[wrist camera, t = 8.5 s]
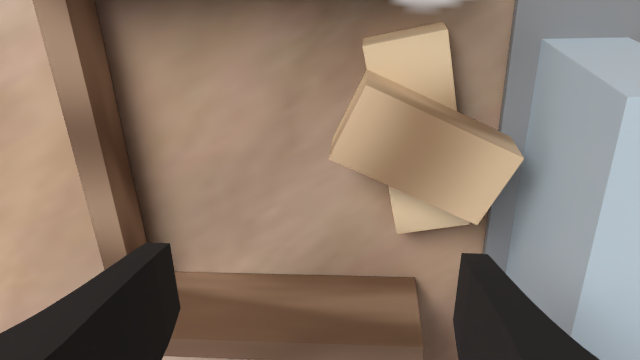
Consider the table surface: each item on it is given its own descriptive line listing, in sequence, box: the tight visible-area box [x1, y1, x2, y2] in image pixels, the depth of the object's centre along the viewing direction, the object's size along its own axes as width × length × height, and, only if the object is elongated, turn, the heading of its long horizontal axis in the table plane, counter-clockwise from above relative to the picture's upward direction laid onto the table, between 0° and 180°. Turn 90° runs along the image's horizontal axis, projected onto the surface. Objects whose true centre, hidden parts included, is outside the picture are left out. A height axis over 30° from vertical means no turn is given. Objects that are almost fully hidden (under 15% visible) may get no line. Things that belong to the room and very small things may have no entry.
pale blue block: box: [506, 37, 640, 360], centre depth 18 cm, size 11×3×7 cm, turn 2°
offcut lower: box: [363, 22, 469, 234], centre depth 21 cm, size 8×3×2 cm, turn 13°
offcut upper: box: [329, 69, 524, 225], centre depth 19 cm, size 6×3×2 cm, turn 66°
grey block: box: [483, 0, 640, 273], centre depth 21 cm, size 14×5×1 cm, turn 2°
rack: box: [33, 0, 424, 360], centre depth 20 cm, size 17×14×4 cm
